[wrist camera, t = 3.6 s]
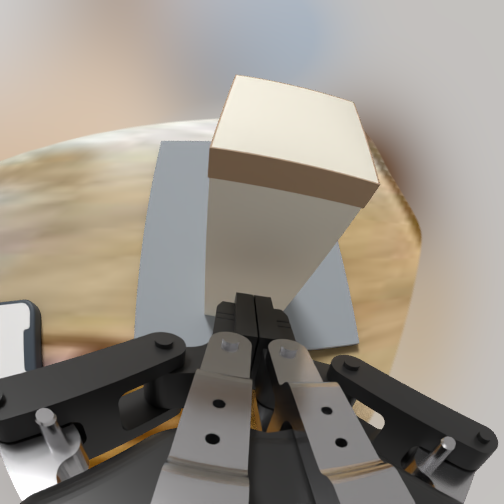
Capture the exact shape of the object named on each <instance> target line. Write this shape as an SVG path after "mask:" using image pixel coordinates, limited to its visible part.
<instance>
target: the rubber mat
mask: <svg viewBox="0 0 504 504" xmlns="http://www.w3.org/2000/svg"><path fill="white" fill-rule="evenodd" d="M210 144H211V142H209V141H161V145H160V149H159V154H158V158H157V163H156V168H155V172H154V177H153V182H152V188H151V193H150V199H149V204H148V210H147V216H146V223H145V230H144V237H143V244H142V252H141V260H140V269H139V279H138V289H137V301H136V316H135V335H134V339H135V338H138V337H141V336H144V335H147V334H150V333H154V332H167V333H172V334H175V335H177V336H179V337H180V338H182V339H183V340H184V342H185V343H186V347H196V346H201V345H204V344H206V343H208V342H209V339H210V337H211V336H212V334H213V328H214V322H215V316H210V315H204V300H205V257H206V231H207V210H208V192H209V178H208V162H209V148H210ZM283 312H284V313H285V314H286V315H287V316H288V319H289V322H290V325H291V329H292V331H293V334H294V337H295V340H296V342H298V343H300V344H301V345H303V346H304V347H305V348H306V349H307V350H308V351H309V350H318V349H327V348H335V347H343V346H350V345H356V344H358V343H359V339H358V333H357V328H356V322H355V317H354V312H353V307H352V302H351V297H350V292H349V287H348V283H347V278H346V274H345V269H344V265H343V261H342V257H341V253H340V249H339V245H338V241H337V242H336V244H335V245H334V246H333V248H332V249H331V251H330V252H329V253H328V255H327V256H326V257H325V258H324V260H323V261H322V262H321V264H320V265H319V266H318V268H317V269H316V270H315V272H314V273H313V274H312V275H311V277H310V278H309V279H308V281H307V282H306V283H305V284H304V286H303V287H302V288H301V289H300V291H299V292H298V293H297V295H296V296H295V297H294V298H293V300H292V301H291V302H290V303H289V304H288V306H287V307H286V308H285V309H284V311H283Z"/></svg>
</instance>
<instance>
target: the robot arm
mask: <svg viewBox="0 0 504 504" xmlns="http://www.w3.org/2000/svg"><path fill="white" fill-rule="evenodd" d="M141 385H144V387H143V388H141V389H139V390H136V391H134V392H132V393H129V394H127V395H125V396H122V395H123V394H124V393H126V392H128V391H130V390H132V389H134V388H137V387H139V386H141ZM252 389H254V390H255V391H256V394H255V398H254V401H253V409H254V414H255V420H256V426H257V430H254V429H250V419H251V401H252ZM121 396H122V397H121ZM356 400H358V401H360V402H361V403H363V404H364V405H366V406H368V407H369V408H371V409H373V410H374V411H376V412H378V413H379V414H381V415H382V416H383V418H384V420H385V425H384V427H383V428H382V429H377V428H375V427H374V426H372V425H370V424H369V423H367V422H366V421H364V420H362V419H361V418H359V417H358V416H356V414H355V413H354V411H353V409H352V407H353V405H354V403H355V401H356ZM181 408H184V409H183V412H182V415H181V419H180V422H179V425H178V428H174V429H169V430H165V431H162V432H159V433H156V434H154V435H151V436H150V437H148V438H146V439H144V440H142V441H141V442H139V443H137V444H135V445H134V446H132V447H130V448H128V449H127V450H125V451H123V452H121V453H119V454H117V455H116V456H114V457H112V458H110V459H108V460H106V461H104V462H102V463H100V464H98V465H96V466H94V467H92V468H90V469H88V467H89V460H90V459H92V458H94V457H97V456H99V455H101V454H103V453H105V452H107V451H110V450H112V449H114V448H116V447H118V446H120V445H122V444H124V443H126V442H128V441H130V440H132V439H134V438H136V437H138V436H140V435H142V434H144V433H145V432H147V431H149V430H151V429H153V428H155V427H157V426H158V425H160V424H162V423H164V422H166V421H167V420H169V419H171V418H173V417H175V416H176V415H178V414H179V413H180V411H181ZM497 447H498V440H497V437H496V435H495V434H494V432H493V431H492V430H491V429H489V428H488V427H486V426H484V425H482V424H480V423H478V422H476V421H474V420H472V419H470V418H468V417H466V416H464V415H462V414H460V413H458V412H456V411H454V410H452V409H450V408H448V407H446V406H444V405H442V404H440V403H438V402H437V401H434V400H433V399H431V398H429V397H427V396H425V395H423V394H421V393H420V392H418V391H416V390H414V389H412V388H410V387H409V386H407V385H405V384H403V383H401V382H399V381H397V380H396V379H394V378H392V377H390V376H389V375H387V374H385V373H383V372H381V371H380V370H378V369H376V368H374V367H372V366H371V365H369V364H367V363H365V362H364V361H362V360H360V359H358V358H356V357H353V356H349V355H339V356H336V357H334V358H333V359H332V361H331V364H330V365H329V364H325V363H321V362H317V361H314V360H312V358H311V356H310V354H309V352H308V350H307V349H306V348H305V347H304V346H303V345H301V344H300V343H298V342H296V340H295V337H294V334H293V331H292V329H291V325H290V322H289V319H288V316H287V315H286V314H285V313H284V312H283V311H282V310H280V309H274V308H273V304H272V300H271V297H265V296H258V295H254V296H253V295H251V294H245V293H239V292H236V296H235V301H234V303H232V302H226V301H222V302H221V303H220V304H218V305H217V309H216V315H215V322H214V328H213V334H212V336H211V337H210V339H209V342H208V343H206V344H204V345H201V346H196V347H186V343H185V342H184V340H183V339H182V338H180V337H179V336H177V335H175V334H172V333H167V332H154V333H150V334H147V335H144V336H141V337H138V338H135V339H132V340H129V341H126V342H123V343H120V344H117V345H114V346H111V347H108V348H105V349H102V350H98V351H95V352H92V353H89V354H86V355H82V356H79V357H76V358H72V359H69V360H66V361H62V362H59V363H55V364H52V365H49V366H45V367H41V368H38V369H34V370H31V371H27V372H23V373H20V374H16V375H12V376H8V377H4V378H0V455H1V457H2V459H3V462H4V464H5V466H6V469H7V471H8V473H9V475H10V477H11V479H12V482H13V484H14V486H15V487H16V490H17V492H18V493H19V495H20V497H21V499H22V502H21V503H20V504H464V501H465V499H466V496H467V493H468V491H469V488H470V485H471V483H472V480H473V476H474V474H475V472H476V471H477V470H478V469H479V468H480V466H482V464H483V463H484V462H485V461H486V460H487V459H488V458H489V457H490V456H491V455H492V453H493V452H494V451H495V450H496V449H497Z"/></svg>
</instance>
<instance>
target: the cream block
mask: <svg viewBox="0 0 504 504" xmlns="http://www.w3.org/2000/svg"><path fill="white" fill-rule="evenodd" d="M208 178H209V192H208V210H207V231H206V257H205V300H204V315H210V316H215V315H216V309H217V305H218V304H220V303H221V302H222V301H226V302H232V303H234V301H235V296H236V292H239V293H245V294H251V295H253V296H254V295H258V296H265V297H271V300H272V304H273V308H274V309H280V310H282V311H284V309H285V308H286V307H287V306H288V304H289V303H290V302H291V301H292V300H293V298H294V297H295V296H296V295H297V293H298V292H299V291H300V289H301V288H302V287H303V286H304V284H305V283H306V282H307V281H308V279H309V278H310V277H311V275H312V274H313V273H314V272H315V270H316V269H317V268H318V266H319V265H320V264H321V262H322V261H323V260H324V258H325V257H326V256H327V255H328V253H329V252H330V251H331V249H332V248H333V246H334V245H335V244H336V242H337V241H338V240H339V238H340V237H341V236H342V234H343V233H344V232H345V230H346V229H347V227H348V226H349V225H350V223H351V222H352V220H353V219H354V218H355V216H356V215H357V213H358V212H359V211H360V209H361V208H364V207H365V206H366V204H367V203H368V202H369V200H370V199H371V197H372V196H373V194H374V193H375V191H376V190H377V189H378V187H379V186H380V182H379V179H378V175H377V171H376V168H375V164H374V161H373V157H372V154H371V151H370V147H369V144H368V141H367V138H366V135H365V132H364V129H363V126H362V123H361V120H360V117H359V115H358V112H357V109H356V106H355V104H354V102H351V101H348V100H345V99H341V98H339V97H335V96H332V95H328V94H325V93H321V92H317V91H314V90H310V89H306V88H302V87H298V86H294V85H289V84H285V83H280V82H275V81H270V80H264V79H260V78H253V77H248V76H242V75H235V78H234V80H233V83H232V85H231V88H230V91H229V93H228V96H227V99H226V101H225V104H224V107H223V110H222V113H221V115H220V118H219V121H218V124H217V127H216V130H215V133H214V136H213V138H212V141H211V144H210V148H209V162H208Z"/></svg>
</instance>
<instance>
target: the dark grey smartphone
mask: <svg viewBox="0 0 504 504" xmlns="http://www.w3.org/2000/svg"><path fill="white" fill-rule="evenodd" d="M41 367H42V357H41V314H40V311H39V309H38V307H37V306H36V305H35V304H34V303H32V302H31V301H29V300H17V301H9V302H0V378H4V377H8V376H12V375H16V374H20V373H23V372H27V371H31V370H34V369H38V368H41Z"/></svg>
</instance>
